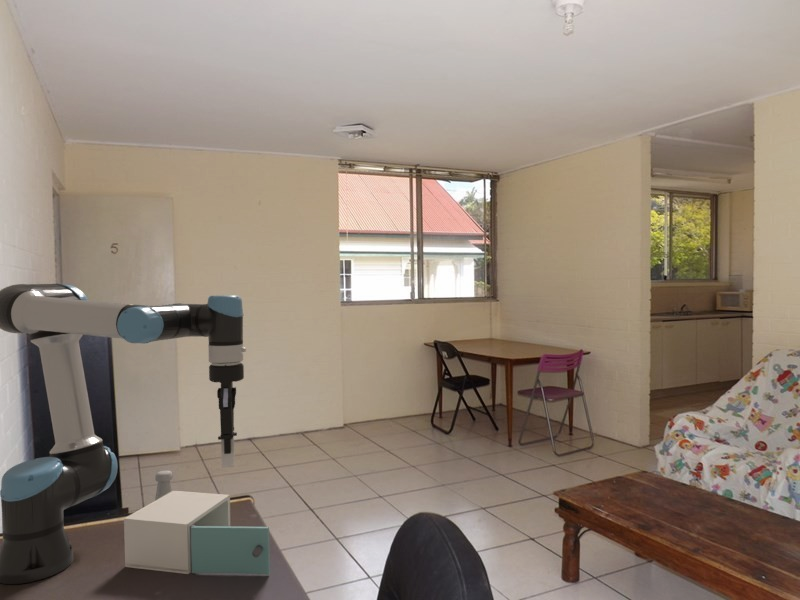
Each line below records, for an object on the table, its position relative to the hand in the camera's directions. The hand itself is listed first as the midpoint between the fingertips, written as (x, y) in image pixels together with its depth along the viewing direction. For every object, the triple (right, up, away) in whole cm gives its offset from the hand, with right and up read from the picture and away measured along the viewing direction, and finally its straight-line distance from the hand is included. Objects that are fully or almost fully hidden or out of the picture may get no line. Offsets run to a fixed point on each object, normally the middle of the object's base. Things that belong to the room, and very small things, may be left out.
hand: (228, 466), depth 131 cm
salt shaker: (-25, -22, +25) cm, 41 cm away
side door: (+2, -21, -7) cm, 23 cm away
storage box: (-13, -22, +5) cm, 26 cm away
